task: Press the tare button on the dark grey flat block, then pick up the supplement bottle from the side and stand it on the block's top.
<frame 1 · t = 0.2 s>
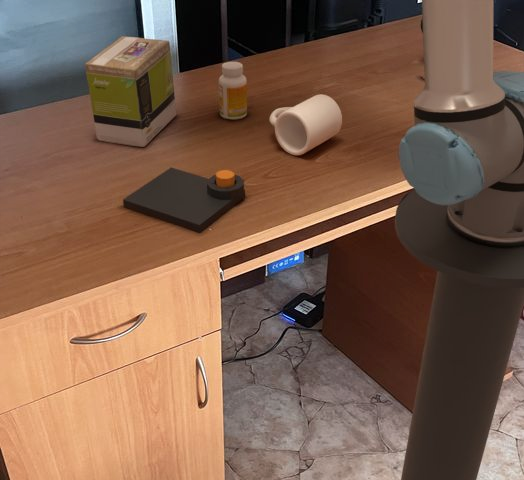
dark grey flat block: (185, 202, 128), on the table
tare button: (225, 179, 127), point 4 cm above the table, slide at 0.1 cm
tea box: (137, 129, 149), on the table
headphones: (437, 73, 172), on the table
supplement bottle: (233, 115, 154), on the table
mug: (298, 143, 145), on the table
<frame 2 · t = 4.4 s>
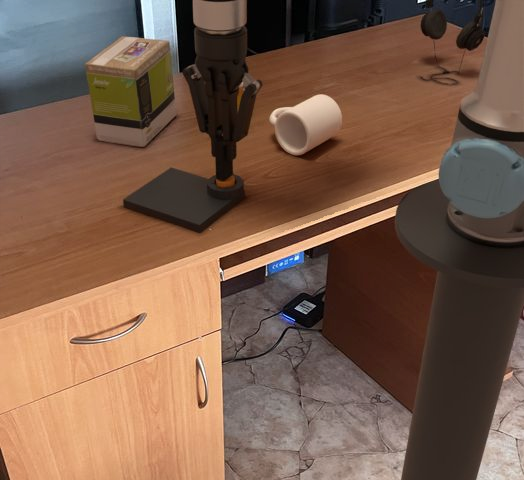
hand: (224, 176, 126), 4 cm above the table, tool pointing down, fingers closed
tare button: (225, 183, 127), point 3 cm above the table, slide at -0.6 cm, touching gripper
everything else where it was.
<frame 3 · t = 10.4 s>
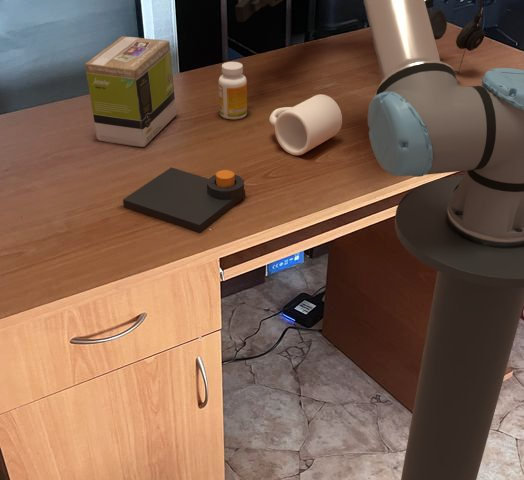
hand: (239, 14, 143), 19 cm above the table, tool horizontal, fingers closed
tare button: (225, 179, 127), point 4 cm above the table, slide at 0.1 cm
everything else where it was.
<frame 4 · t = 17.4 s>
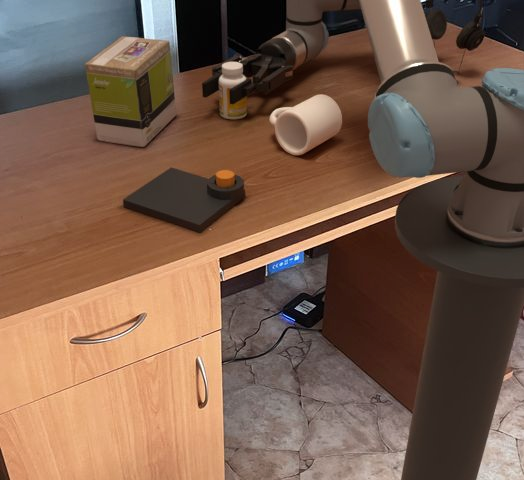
hand: (217, 93, 147), 6 cm above the table, tool horizontal, fingers closed on supplement bottle, 5 cm apart
supplement bottle: (233, 115, 154), on the table, touching gripper
everything else where it was.
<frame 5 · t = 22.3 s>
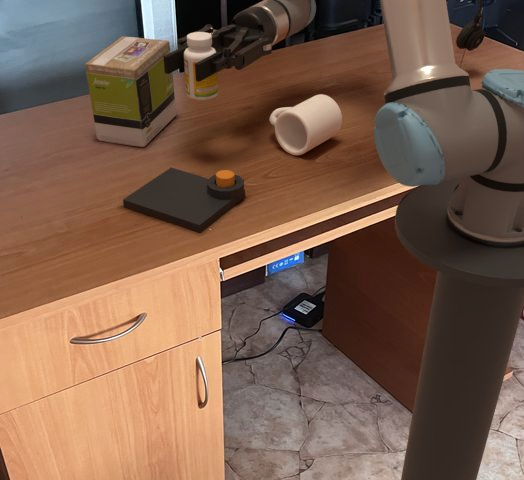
hand: (181, 68, 125), 18 cm above the table, tool horizontal, fingers closed on supplement bottle, 5 cm apart
supplement bottle: (202, 95, 132), point 12 cm above the table, touching gripper
everything else where it was.
when the fingers open (7 cm above the table, at t = 27.5 s): supplement bottle stays where it is, resting on dark grey flat block.
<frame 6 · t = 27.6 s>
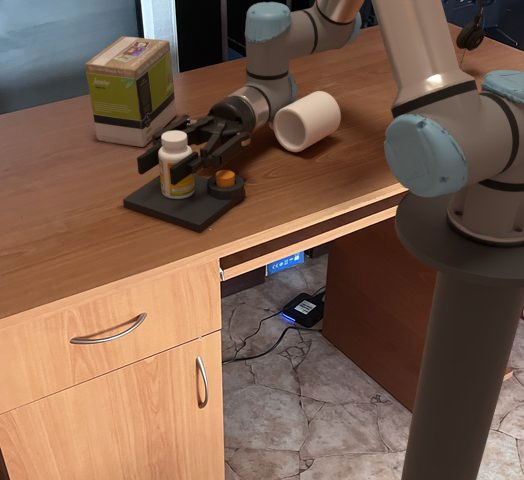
hand: (155, 171, 120), 7 cm above the table, tool horizontal, fingers open, 5 cm apart
supplement bottle: (178, 192, 128), point 1 cm above the table, touching dark grey flat block
mug: (302, 143, 145), on the table, touching arm
everything else where it was.
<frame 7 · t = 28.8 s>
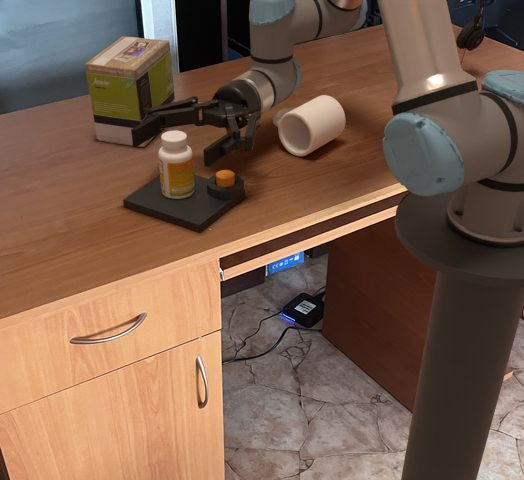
hand: (168, 148, 120), 10 cm above the table, tool horizontal, fingers open, 13 cm apart
mug: (302, 144, 145), on the table
everything else where it was.
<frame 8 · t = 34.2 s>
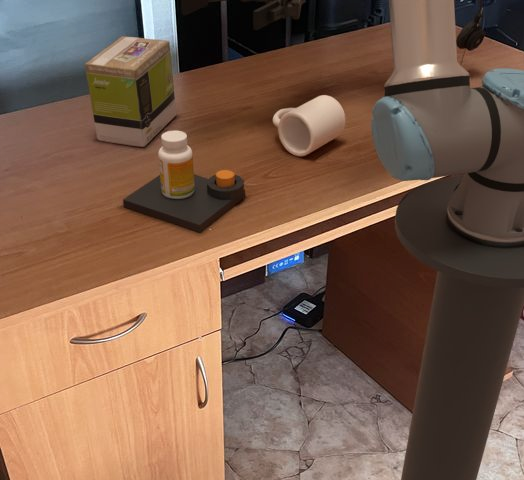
hand: (218, 13, 123), 25 cm above the table, tool horizontal, fingers open, 13 cm apart
nothing on the table moved.
at the end: tare button pushed in 0.8 cm at the most during the clip, back to where it started at the end; supplement bottle inside the target area on the dark grey flat block (1.4 cm from its centre), point 1.2 cm above the dark grey flat block's base; supplement bottle touching dark grey flat block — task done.
